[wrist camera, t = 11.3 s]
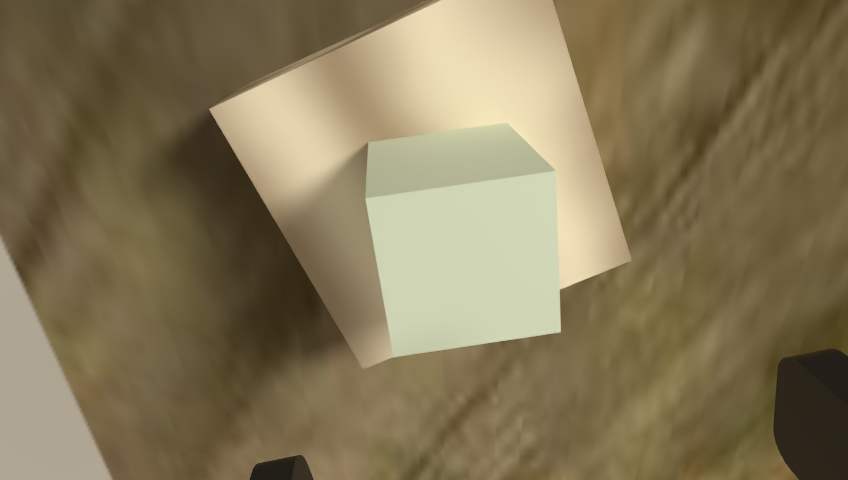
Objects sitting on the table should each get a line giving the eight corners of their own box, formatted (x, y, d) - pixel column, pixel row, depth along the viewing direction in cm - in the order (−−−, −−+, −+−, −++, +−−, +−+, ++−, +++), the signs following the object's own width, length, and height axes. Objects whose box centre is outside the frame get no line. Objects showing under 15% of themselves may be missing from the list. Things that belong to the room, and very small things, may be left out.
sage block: (507, 122, 20) (555, 170, 15) (515, 248, 22) (560, 331, 17) (368, 142, 20) (365, 198, 14) (389, 266, 22) (393, 357, 17)
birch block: (506, -38, 23) (538, -46, 18) (589, 215, 27) (631, 260, 23) (241, 86, 24) (209, 109, 19) (365, 308, 28) (363, 369, 24)
